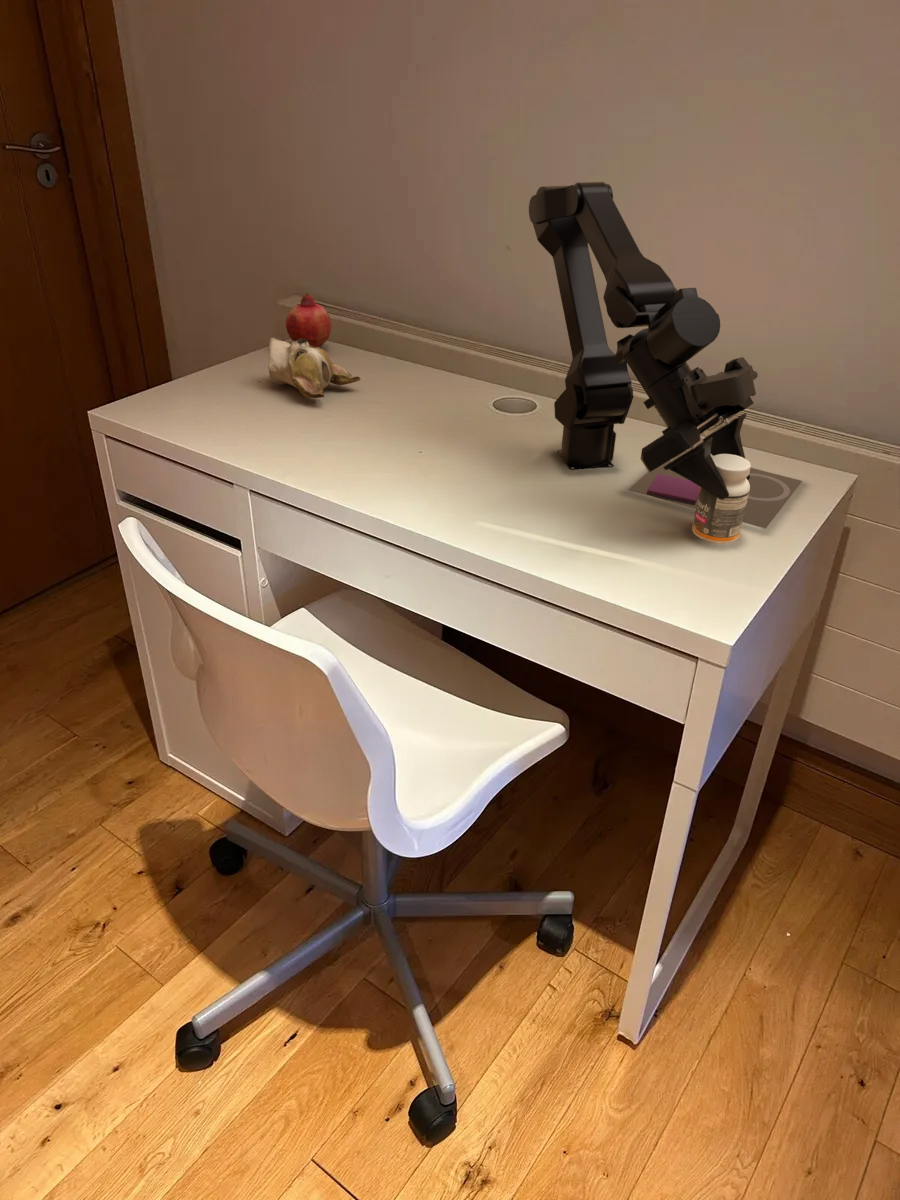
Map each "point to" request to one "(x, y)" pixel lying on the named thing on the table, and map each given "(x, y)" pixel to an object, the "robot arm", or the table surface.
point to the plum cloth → (674, 488)
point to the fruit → (309, 322)
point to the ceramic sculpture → (305, 367)
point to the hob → (762, 499)
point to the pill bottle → (724, 502)
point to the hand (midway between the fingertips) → (736, 489)
